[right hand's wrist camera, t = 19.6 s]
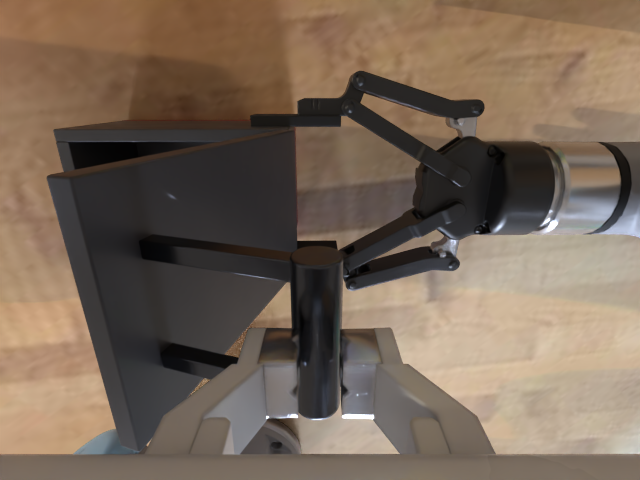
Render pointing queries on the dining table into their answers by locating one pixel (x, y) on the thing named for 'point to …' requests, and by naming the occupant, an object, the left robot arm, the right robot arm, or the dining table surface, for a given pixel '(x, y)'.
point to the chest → (146, 139)
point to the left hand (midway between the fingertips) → (257, 190)
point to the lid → (195, 272)
